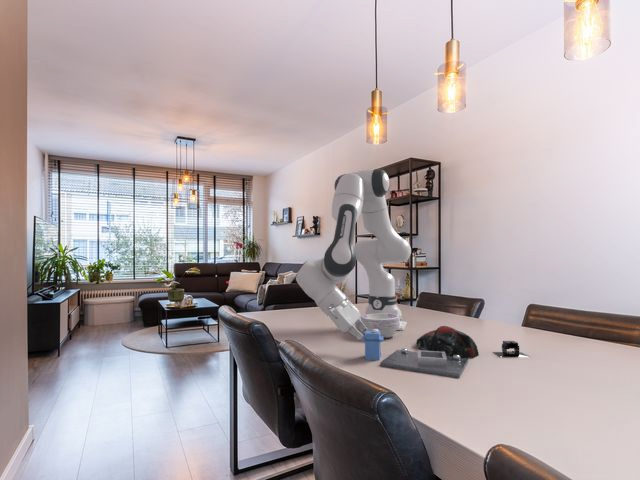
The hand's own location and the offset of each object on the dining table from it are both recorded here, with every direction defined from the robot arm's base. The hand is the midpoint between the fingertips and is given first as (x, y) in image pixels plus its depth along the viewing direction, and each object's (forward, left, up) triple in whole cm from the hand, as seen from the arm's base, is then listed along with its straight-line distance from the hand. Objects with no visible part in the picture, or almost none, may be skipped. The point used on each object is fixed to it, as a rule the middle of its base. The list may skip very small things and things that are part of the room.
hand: (364, 334), depth 119 cm
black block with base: (-25, +40, -8) cm, 48 cm away
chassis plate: (-2, +19, -7) cm, 20 cm away
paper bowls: (-31, -6, -7) cm, 32 cm away
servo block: (-1, +3, -7) cm, 8 cm away
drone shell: (-22, +21, -8) cm, 31 cm away
